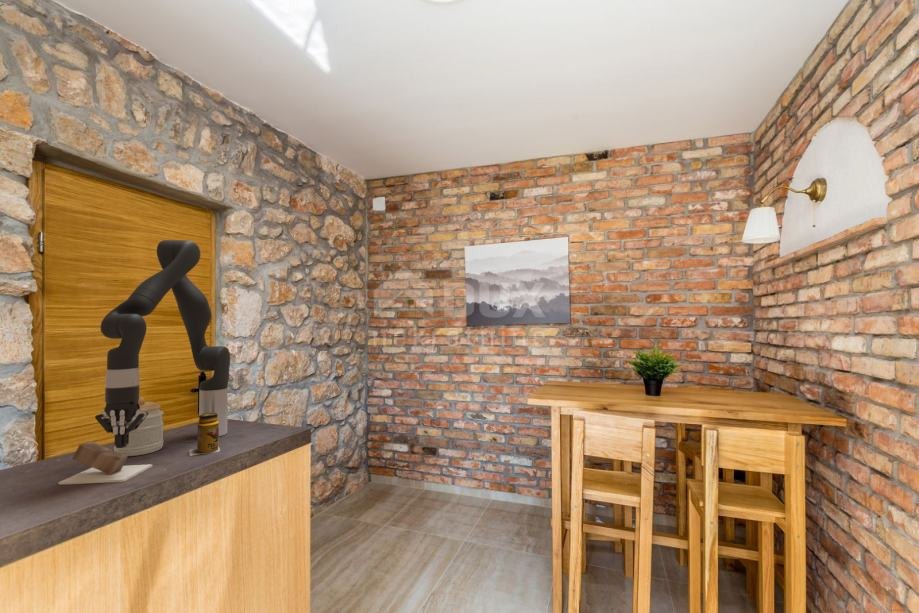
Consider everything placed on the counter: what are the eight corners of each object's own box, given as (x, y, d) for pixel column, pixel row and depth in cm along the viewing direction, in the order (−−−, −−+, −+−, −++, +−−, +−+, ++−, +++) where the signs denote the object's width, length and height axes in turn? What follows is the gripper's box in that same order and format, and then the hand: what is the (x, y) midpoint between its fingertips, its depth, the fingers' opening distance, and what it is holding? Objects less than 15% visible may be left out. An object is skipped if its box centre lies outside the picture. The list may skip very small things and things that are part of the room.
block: (121, 469, 120) (84, 454, 119) (127, 456, 120) (90, 441, 119) (110, 475, 116) (72, 458, 115) (117, 461, 116) (79, 445, 115)
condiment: (220, 451, 138) (220, 414, 139) (189, 456, 134) (190, 418, 134) (218, 446, 144) (219, 411, 145) (189, 450, 140) (189, 414, 140)
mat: (93, 468, 123) (93, 466, 123) (152, 466, 124) (152, 464, 124) (58, 484, 111) (58, 482, 111) (123, 481, 112) (124, 479, 112)
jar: (103, 455, 135) (104, 400, 136) (144, 444, 148) (145, 393, 148) (133, 458, 132) (134, 401, 132) (172, 447, 144) (173, 394, 145)
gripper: (156, 382, 123) (155, 442, 122) (106, 383, 122) (105, 444, 121) (139, 386, 116) (138, 450, 115) (86, 387, 114) (85, 452, 114)
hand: (121, 447), depth 118 cm, fingers closed
